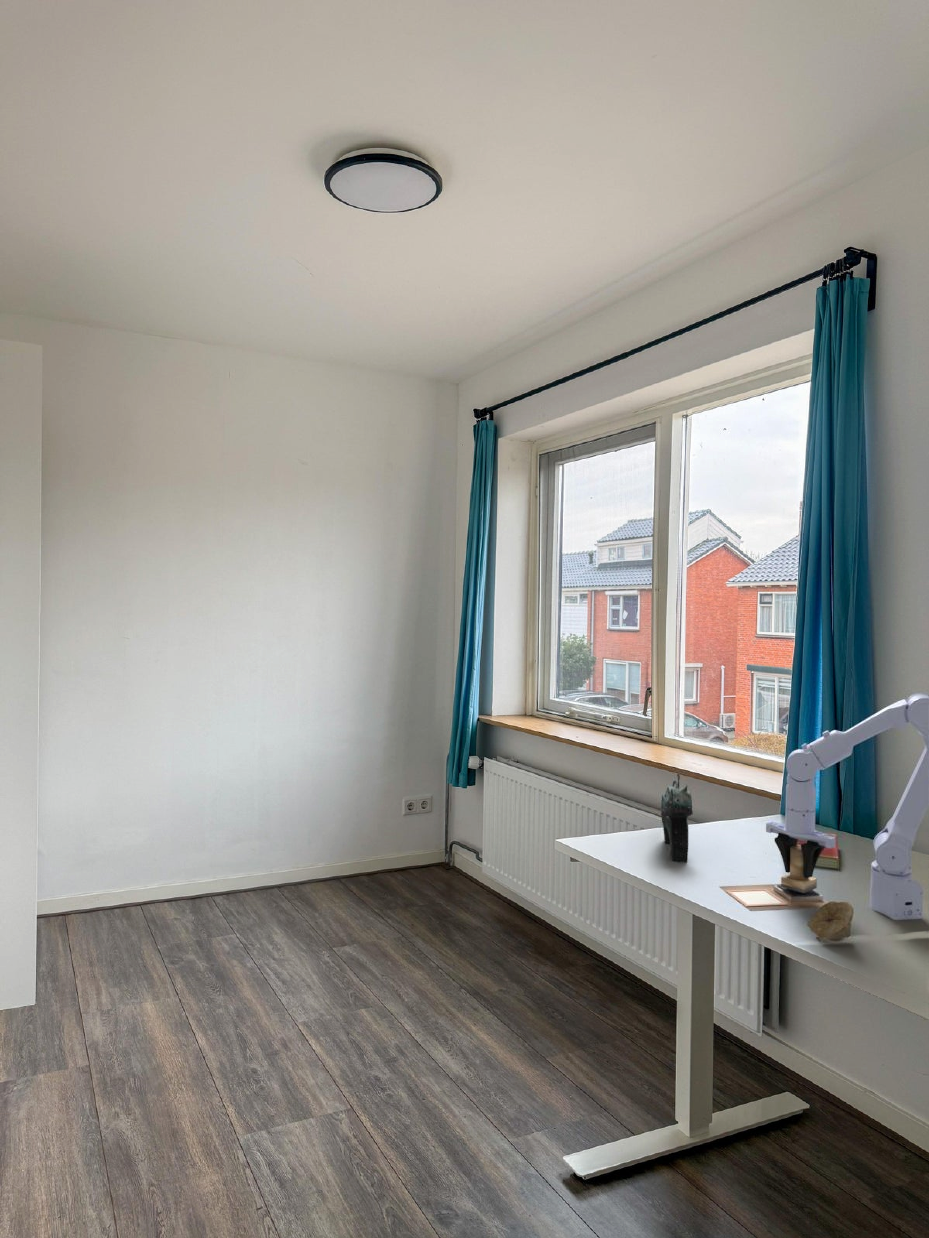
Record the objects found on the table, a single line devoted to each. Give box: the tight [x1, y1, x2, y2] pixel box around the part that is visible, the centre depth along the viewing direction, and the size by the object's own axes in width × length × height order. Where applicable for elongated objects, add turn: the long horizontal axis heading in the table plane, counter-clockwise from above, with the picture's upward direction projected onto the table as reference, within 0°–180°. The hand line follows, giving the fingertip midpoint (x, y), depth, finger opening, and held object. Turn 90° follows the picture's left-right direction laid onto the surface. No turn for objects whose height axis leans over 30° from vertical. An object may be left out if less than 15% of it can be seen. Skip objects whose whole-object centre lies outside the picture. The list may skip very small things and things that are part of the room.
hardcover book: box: [796, 832, 840, 870], centre depth 207 cm, size 12×21×4 cm, turn 158°
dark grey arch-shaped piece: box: [660, 771, 694, 863], centre depth 210 cm, size 20×6×20 cm, turn 173°
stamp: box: [780, 846, 818, 893], centre depth 177 cm, size 5×5×8 cm
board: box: [718, 883, 829, 912], centre depth 177 cm, size 14×18×1 cm
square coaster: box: [724, 889, 788, 908], centre depth 176 cm, size 9×9×1 cm
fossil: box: [806, 901, 854, 942], centre depth 158 cm, size 9×4×10 cm
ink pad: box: [774, 885, 824, 902], centre depth 177 cm, size 7×7×1 cm
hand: (798, 874), depth 177 cm, fingers closed on stamp, 4 cm apart
